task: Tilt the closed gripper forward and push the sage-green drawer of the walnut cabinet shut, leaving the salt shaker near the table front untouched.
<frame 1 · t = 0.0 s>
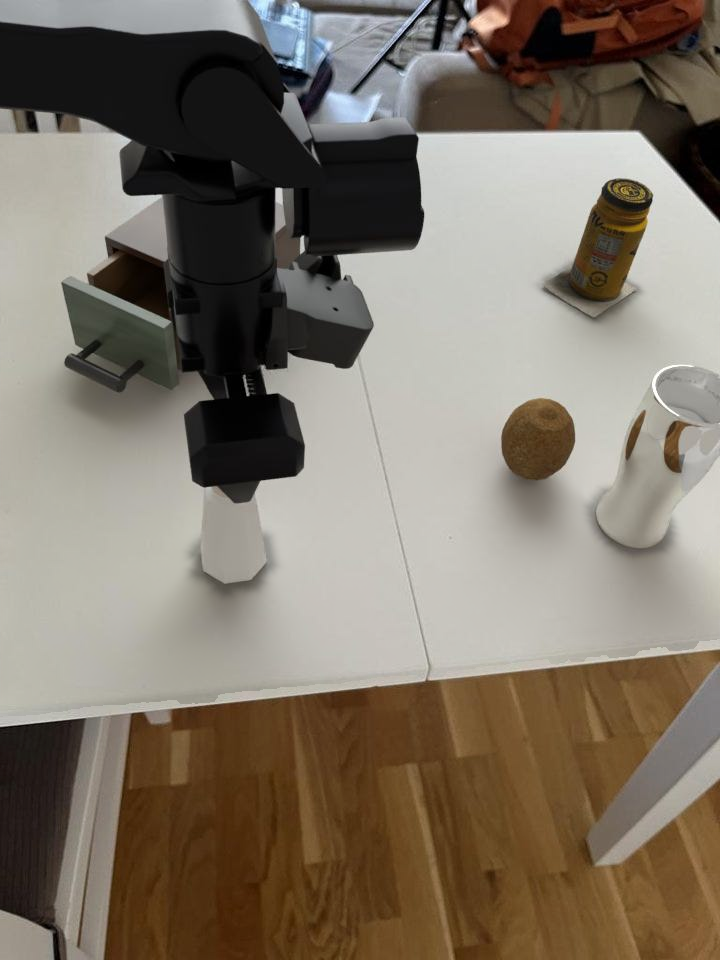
hand: (232, 449, 57), 13 cm above the table, tool pointing down, fingers open, 9 cm apart
drawer: (150, 310, 78), point 5 cm above the table, slide at 5.5 cm
condiment: (588, 290, 94), on the table
cabinet: (211, 300, 87), on the table
salt shaker: (233, 558, 66), on the table
beer glass: (629, 521, 72), on the table
fruit: (526, 471, 75), on the table
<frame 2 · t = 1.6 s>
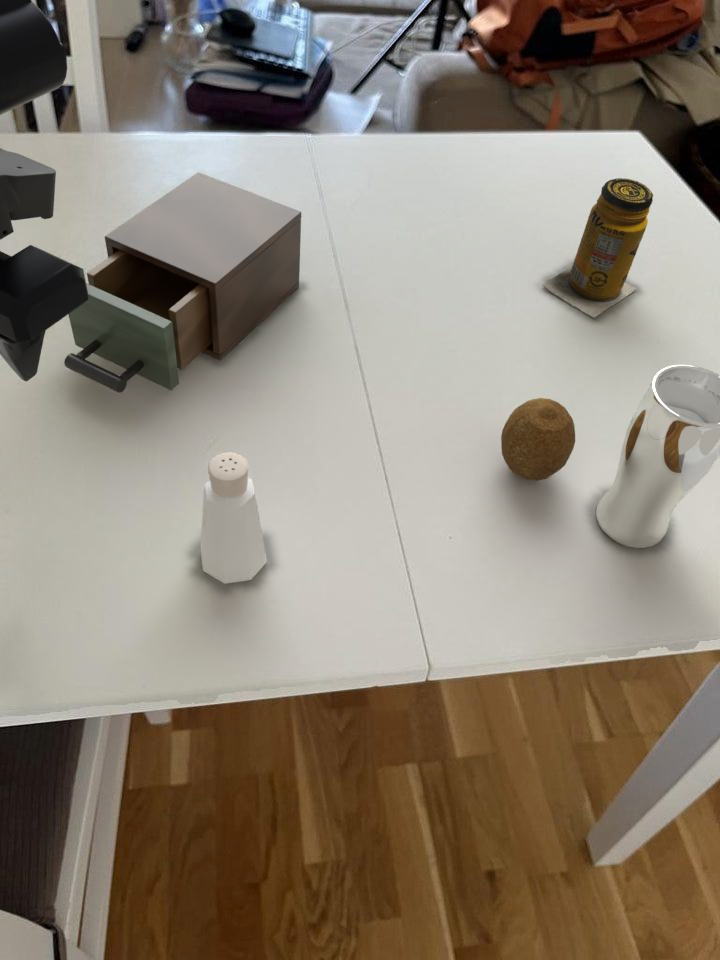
nothing on the table moved.
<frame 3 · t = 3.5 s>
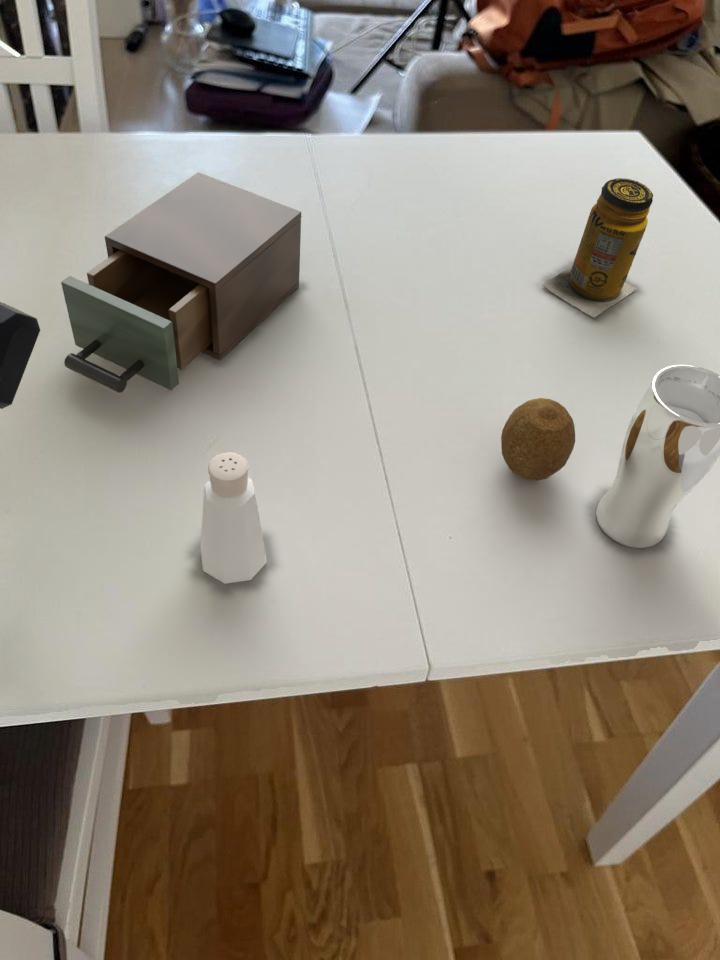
nothing on the table moved.
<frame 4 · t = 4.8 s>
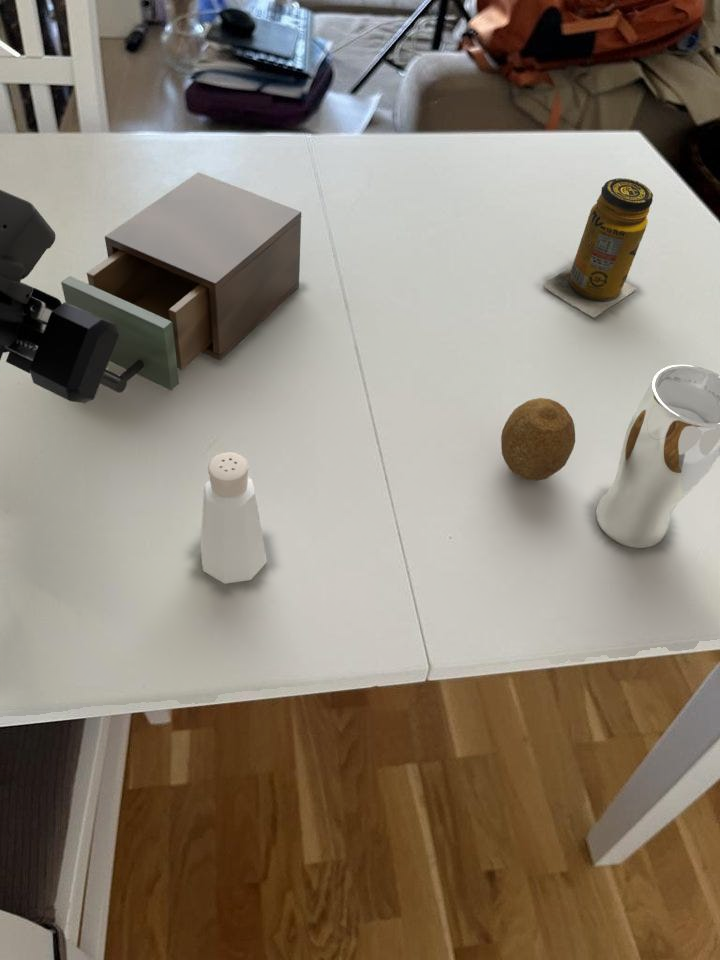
hand: (69, 337, 69), 8 cm above the table, tool tilted 45°, fingers closed
nothing on the table moved.
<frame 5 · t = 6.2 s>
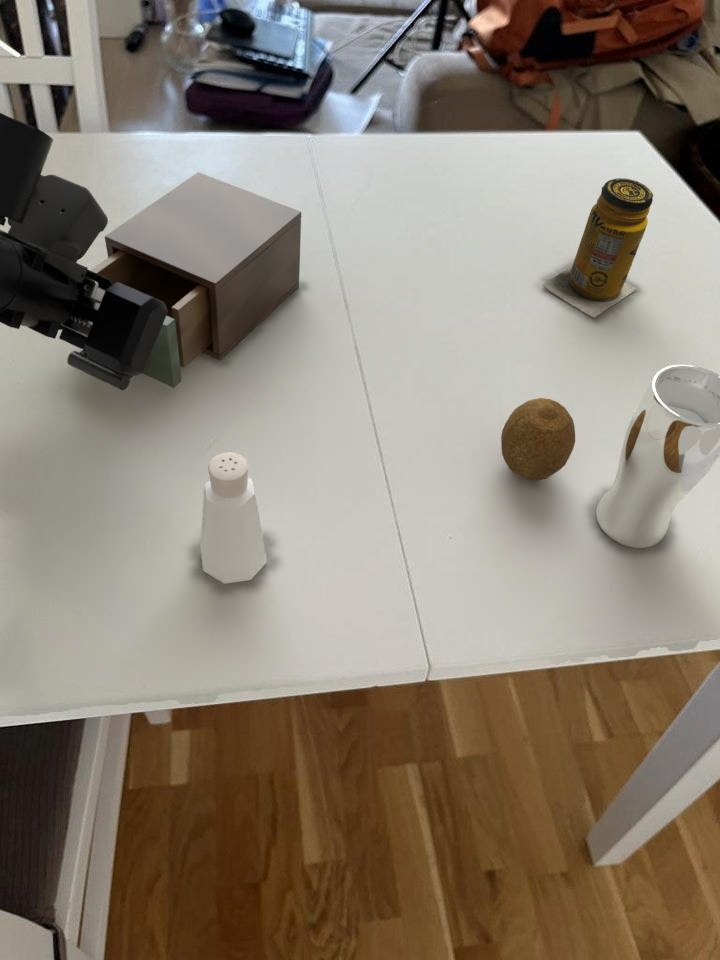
hand: (114, 317, 74), 7 cm above the table, tool tilted 45°, fingers closed, pressing on drawer
drawer: (153, 308, 78), point 5 cm above the table, slide at 5.1 cm, touching gripper
everything else where it was.
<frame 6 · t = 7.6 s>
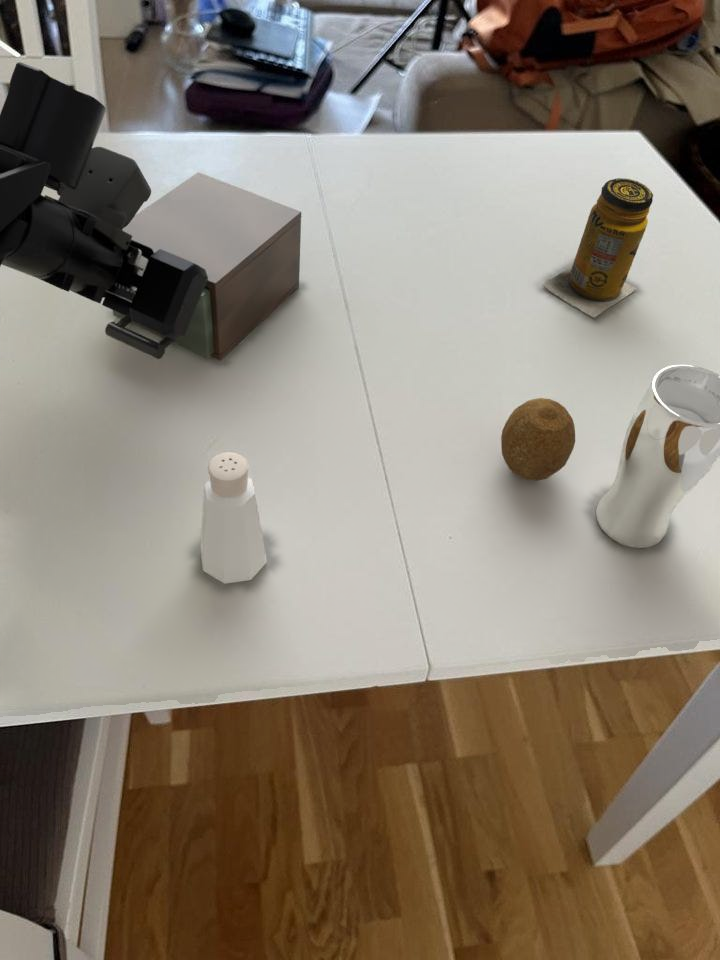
hand: (151, 288, 77), 7 cm above the table, tool tilted 45°, fingers closed, pressing on drawer
drawer: (186, 281, 81), point 5 cm above the table, slide at 0.0 cm, touching cabinet, gripper
everything else where it was.
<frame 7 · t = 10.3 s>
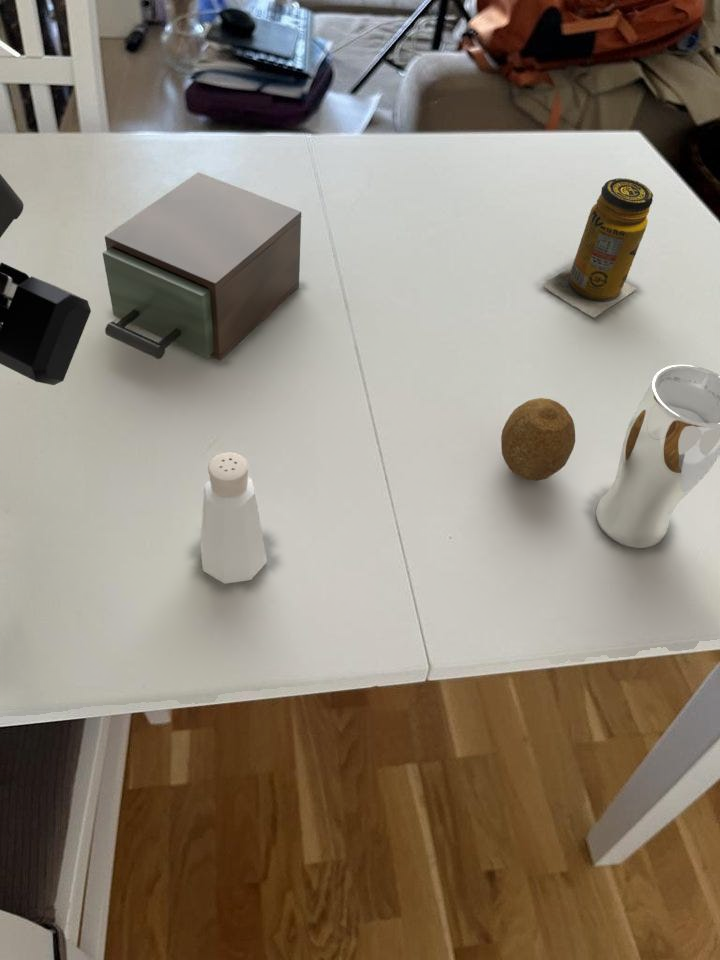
hand: (41, 318, 65), 12 cm above the table, tool tilted 45°, fingers closed
drawer: (186, 281, 81), point 5 cm above the table, slide at 0.0 cm, touching cabinet
everything else where it was.
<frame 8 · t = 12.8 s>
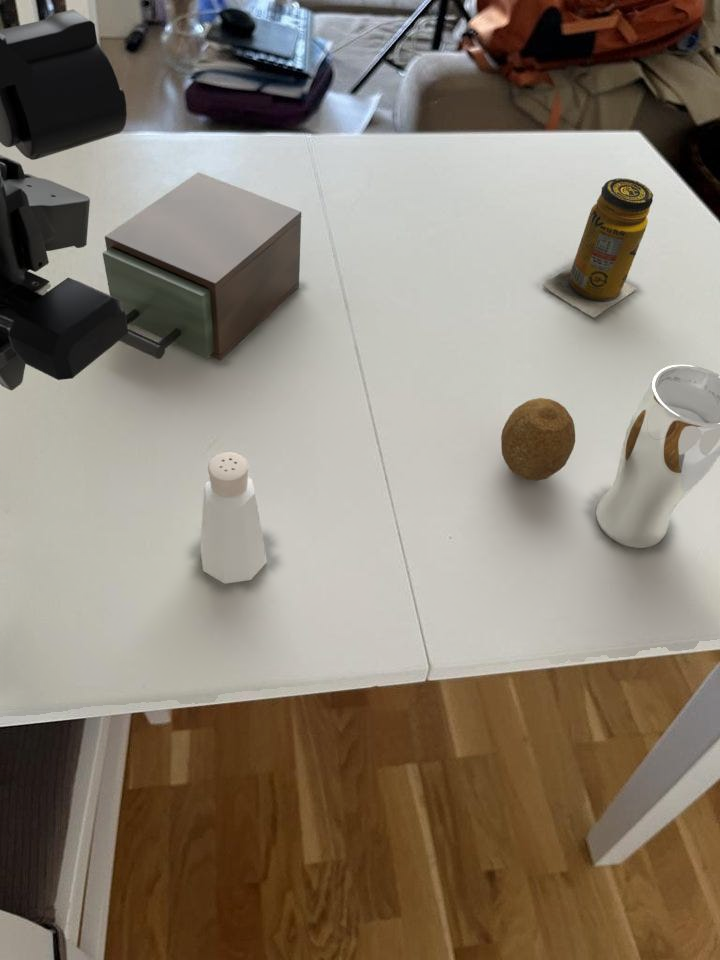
hand: (12, 385, 58), 13 cm above the table, tool pointing down, fingers closed
nothing on the table moved.
at the end: drawer slide at 0.0 cm; salt shaker moved 0.2 cm from its start; salt shaker tilted 0° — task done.
